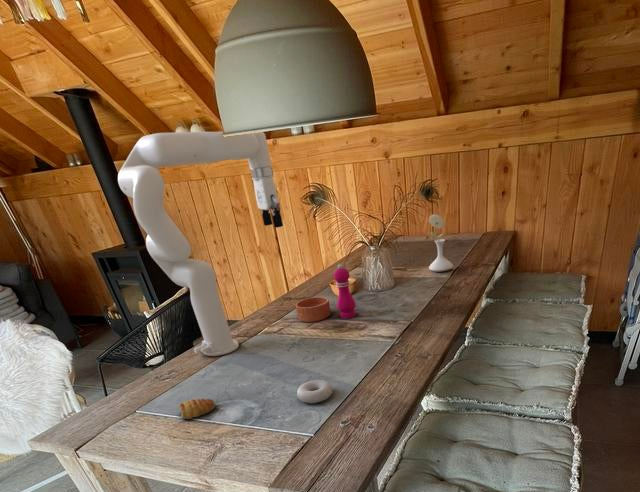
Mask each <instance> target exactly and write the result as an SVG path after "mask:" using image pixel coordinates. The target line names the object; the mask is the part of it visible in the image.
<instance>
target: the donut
mask: <svg viewBox="0 0 640 492" xmlns="http://www.w3.org/2000/svg"><path fill="white" fill-rule="evenodd" d="M332 394H333V385H332V384H331V383H330V382H329V381H327V380H323V379H313V380H308V381H306V382H303V383H302V384H301V385H299V387H298V388H297V391H296V396H297V398H298V400H300V401H301V402H302V403H306V404H317V403H321V402H324V401H326V400H327V399H329V398H330V397H331V396H332Z"/></svg>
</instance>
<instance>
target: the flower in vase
mask: <svg viewBox="0 0 640 492" xmlns="http://www.w3.org/2000/svg"><path fill="white" fill-rule="evenodd" d="M428 223H429V224H430V225H431V226H432V227H434V229H433V230H434V231H430V233H429V235H428V236H430V237H432V238H435V237H436V239H435V240H434V243H435V244H436V248H437V257H436V258H435V260H433V262H431V263H430V265H429V266H428V269H429V270H430V271H431V272H437V273H439V272H446V271H449V270H451V269H452V268H453V265H454V264H453V263H452V262H451V261H450V260H448V259H447V258H446V257H445V256H444V253H443V251H444V250H443V248H444V243H445V241H446V239H443V238H441V239H440V237H442V236H443V235H444V233H441V234H439V235H438V236H437V233H436V229H439V230H441V229H443V228H445V220H444V217H442V216H441V215H439V214H431V215H430V216H429V217H428Z"/></svg>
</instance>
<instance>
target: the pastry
mask: <svg viewBox="0 0 640 492" xmlns="http://www.w3.org/2000/svg"><path fill="white" fill-rule="evenodd" d="M215 407H216V404H215V401H214V400H213V399H211V398H197V399H190V400H184V401H183V403H178V409H179V411H180V414H181V416H180V417H181V419H185V420H190V419H192V418H198V417H200V416H202V415H203V416H204V415H205V414H208V413H209V412H211V411H212V410H214V409H215Z"/></svg>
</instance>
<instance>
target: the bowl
mask: <svg viewBox="0 0 640 492" xmlns="http://www.w3.org/2000/svg"><path fill="white" fill-rule="evenodd" d="M294 306H295V311H296V314H297V318H298V320H299V321H301V322H305V323H314V322H319V321H322V320H324V319H326V318H328V317H329V316H330V315H331V314H332V312H331V305H330V301H329V298H327V297H326V296H325V297H324V296H314V297H308V298H307V297H306V298H304V299H301V300H298V301H297V302H296V303H295V304H294Z"/></svg>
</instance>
